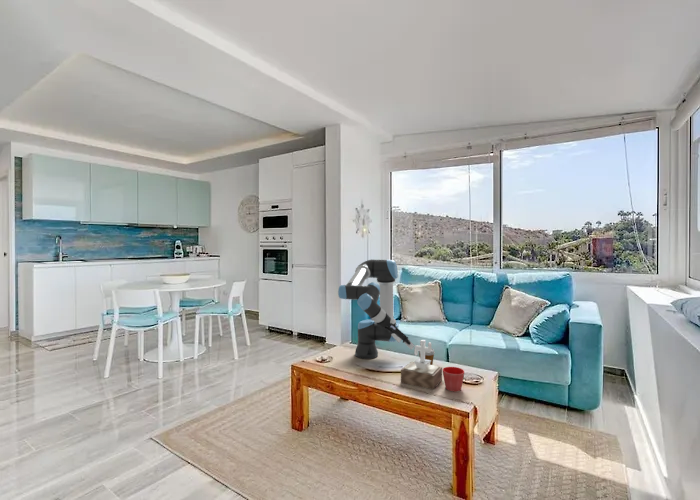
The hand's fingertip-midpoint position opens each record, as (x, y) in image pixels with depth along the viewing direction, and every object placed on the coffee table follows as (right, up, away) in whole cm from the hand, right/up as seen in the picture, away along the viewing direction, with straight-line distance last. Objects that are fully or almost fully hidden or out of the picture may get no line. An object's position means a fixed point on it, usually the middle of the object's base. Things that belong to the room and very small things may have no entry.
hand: (406, 344), depth 197 cm
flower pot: (+23, -22, -6) cm, 32 cm away
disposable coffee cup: (+15, -21, +22) cm, 34 cm away
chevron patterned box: (+9, -21, +4) cm, 23 cm away
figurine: (+9, -14, +3) cm, 17 cm away
